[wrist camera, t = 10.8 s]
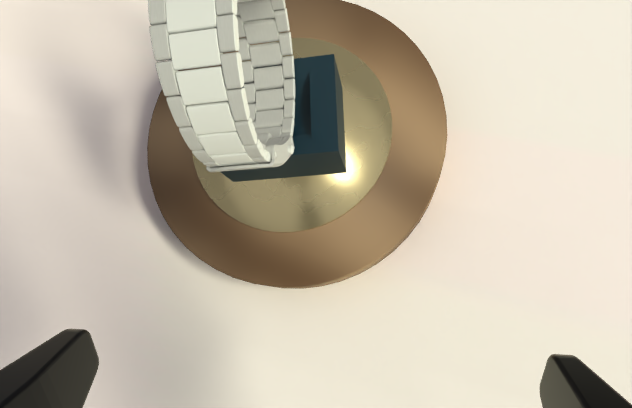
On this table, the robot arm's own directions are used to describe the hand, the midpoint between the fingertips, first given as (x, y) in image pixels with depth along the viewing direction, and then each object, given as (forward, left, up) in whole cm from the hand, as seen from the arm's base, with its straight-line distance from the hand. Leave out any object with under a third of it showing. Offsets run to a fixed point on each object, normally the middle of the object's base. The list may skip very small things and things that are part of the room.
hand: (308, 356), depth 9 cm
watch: (+7, +7, -11) cm, 15 cm away
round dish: (+7, +7, -13) cm, 17 cm away
